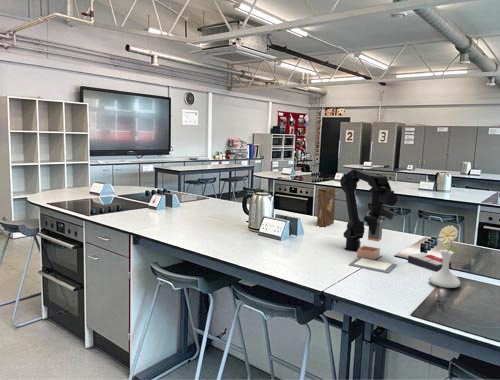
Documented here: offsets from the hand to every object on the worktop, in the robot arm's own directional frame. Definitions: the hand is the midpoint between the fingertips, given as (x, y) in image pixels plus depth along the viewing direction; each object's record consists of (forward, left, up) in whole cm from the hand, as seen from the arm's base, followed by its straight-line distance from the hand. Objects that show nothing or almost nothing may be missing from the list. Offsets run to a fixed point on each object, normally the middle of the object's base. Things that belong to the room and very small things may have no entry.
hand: (374, 233), depth 183 cm
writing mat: (+3, -10, -13) cm, 16 cm away
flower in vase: (+34, -18, -13) cm, 40 cm away
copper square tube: (-3, +2, -13) cm, 13 cm away
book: (-50, +56, -13) cm, 77 cm away
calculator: (+24, +7, -13) cm, 28 cm away
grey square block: (0, 0, -3) cm, 3 cm away
